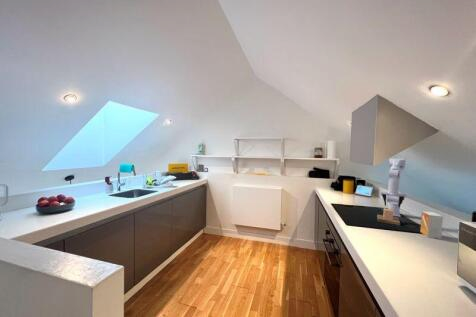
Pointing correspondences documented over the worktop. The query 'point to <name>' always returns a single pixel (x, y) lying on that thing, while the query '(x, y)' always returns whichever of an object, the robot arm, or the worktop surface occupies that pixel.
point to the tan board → (388, 220)
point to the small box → (431, 224)
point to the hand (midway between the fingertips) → (392, 206)
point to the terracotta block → (388, 214)
